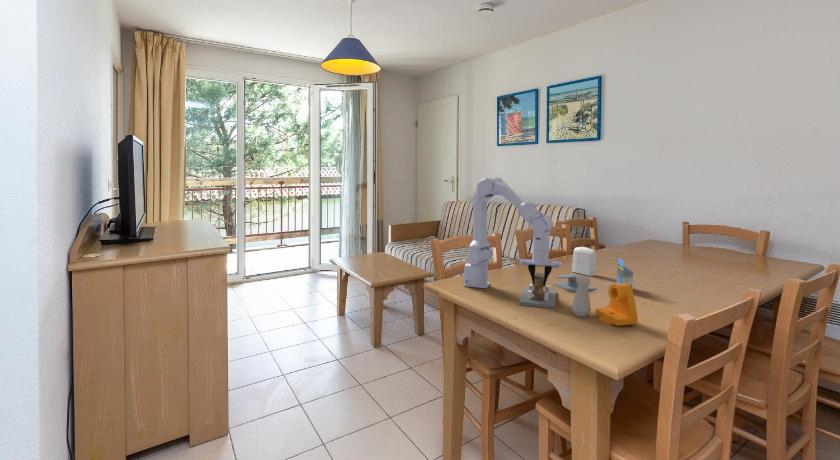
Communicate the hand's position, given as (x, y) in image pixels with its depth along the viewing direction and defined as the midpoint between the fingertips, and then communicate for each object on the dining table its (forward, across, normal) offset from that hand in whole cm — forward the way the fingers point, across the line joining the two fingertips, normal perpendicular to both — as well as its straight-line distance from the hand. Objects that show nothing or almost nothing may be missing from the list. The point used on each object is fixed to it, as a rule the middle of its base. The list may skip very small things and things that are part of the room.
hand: (538, 285), depth 154 cm
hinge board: (+5, 0, 0) cm, 5 cm away
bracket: (+5, +24, -16) cm, 29 cm away
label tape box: (+5, +32, +24) cm, 40 cm away
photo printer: (+5, +18, +46) cm, 50 cm away
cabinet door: (+4, 0, 0) cm, 4 cm away
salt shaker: (+5, +14, -14) cm, 20 cm away
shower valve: (+6, +12, +21) cm, 25 cm away
